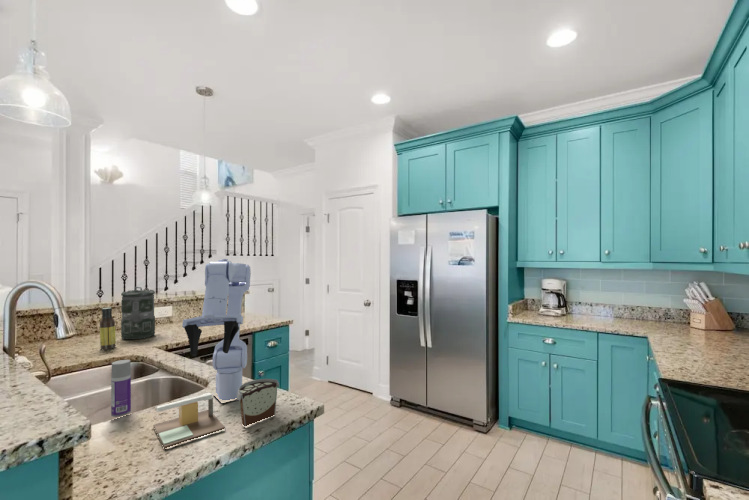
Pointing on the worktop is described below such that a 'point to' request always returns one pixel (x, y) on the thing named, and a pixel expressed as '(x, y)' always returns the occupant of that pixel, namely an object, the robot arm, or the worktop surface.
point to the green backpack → (137, 314)
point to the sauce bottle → (107, 329)
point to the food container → (257, 400)
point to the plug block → (188, 413)
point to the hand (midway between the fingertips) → (209, 353)
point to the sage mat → (175, 434)
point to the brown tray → (193, 425)
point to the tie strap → (185, 402)
